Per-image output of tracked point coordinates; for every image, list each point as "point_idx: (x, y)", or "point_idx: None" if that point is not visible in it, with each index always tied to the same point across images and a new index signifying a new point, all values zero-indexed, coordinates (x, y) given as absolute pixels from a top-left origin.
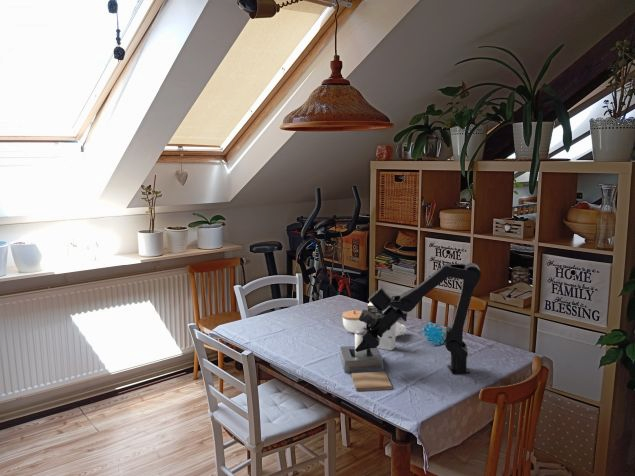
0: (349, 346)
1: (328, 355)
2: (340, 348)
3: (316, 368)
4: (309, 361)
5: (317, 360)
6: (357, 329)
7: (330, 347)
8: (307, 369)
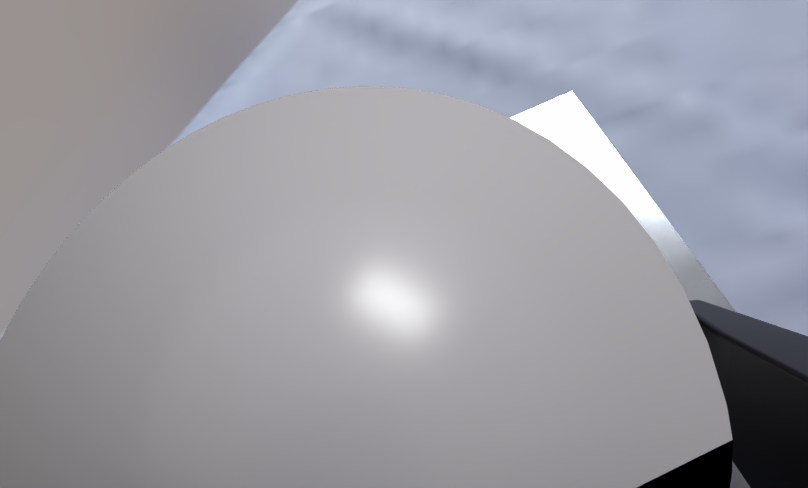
0: (636, 189)
1: (570, 67)
2: (531, 112)
3: (288, 89)
4: (401, 5)
5: (435, 39)
6: (505, 143)
7: (780, 11)
8: (264, 48)
